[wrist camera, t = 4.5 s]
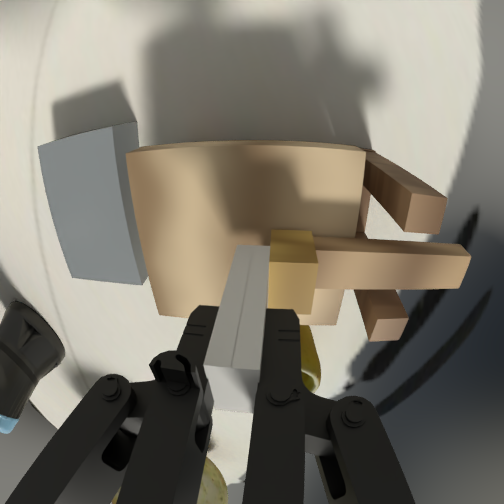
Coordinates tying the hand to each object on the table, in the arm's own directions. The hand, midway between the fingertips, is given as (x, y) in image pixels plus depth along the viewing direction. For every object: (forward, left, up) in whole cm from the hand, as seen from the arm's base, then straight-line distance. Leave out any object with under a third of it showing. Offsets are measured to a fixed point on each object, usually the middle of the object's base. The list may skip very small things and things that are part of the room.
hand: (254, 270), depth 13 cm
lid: (-1, 0, -4) cm, 4 cm away
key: (+6, 0, -2) cm, 7 cm away
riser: (-15, 0, -11) cm, 19 cm away
